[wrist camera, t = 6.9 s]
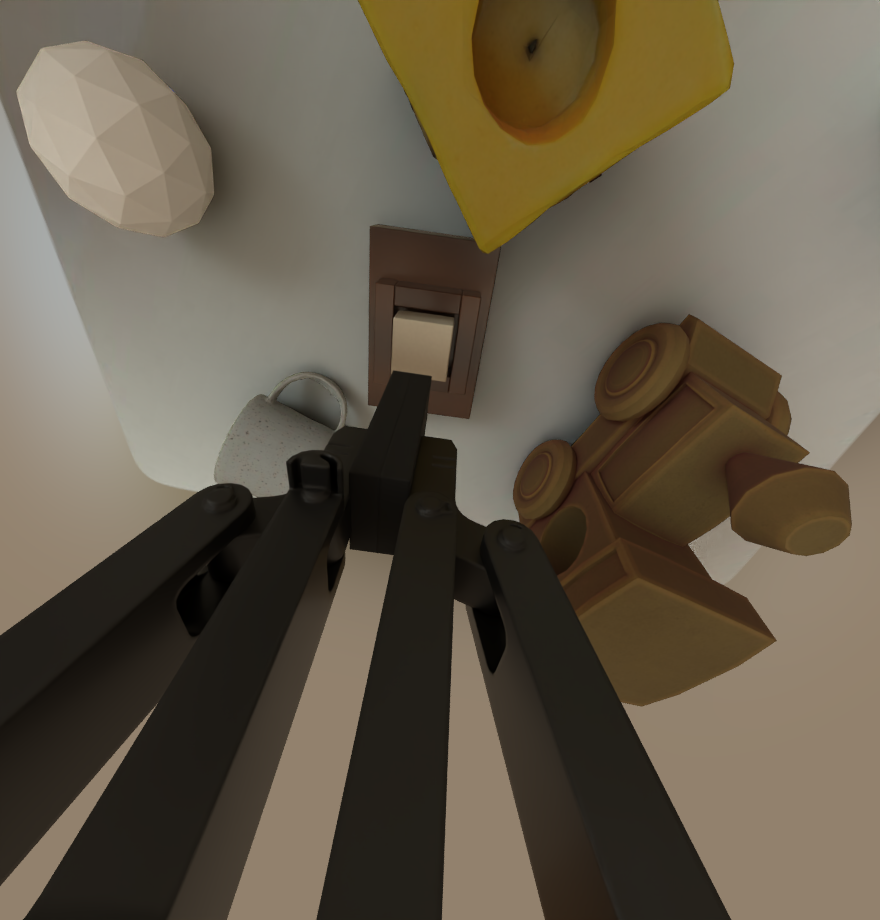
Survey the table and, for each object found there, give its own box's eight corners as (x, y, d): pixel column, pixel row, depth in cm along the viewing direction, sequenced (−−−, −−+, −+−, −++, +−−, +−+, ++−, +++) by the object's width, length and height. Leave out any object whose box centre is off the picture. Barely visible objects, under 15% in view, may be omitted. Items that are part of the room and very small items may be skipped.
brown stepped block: (376, 224, 24) (362, 227, 21) (499, 241, 24) (504, 247, 21) (373, 393, 31) (362, 416, 28) (469, 406, 31) (469, 430, 28)
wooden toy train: (587, 533, 38) (652, 717, 25) (492, 489, 36) (505, 665, 22) (768, 370, 28) (1056, 532, 14) (651, 291, 25) (863, 394, 12)
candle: (573, -130, 16) (678, -469, 8) (640, 129, 21) (751, 81, 13) (387, 53, 20) (328, -52, 12) (479, 241, 24) (483, 260, 16)
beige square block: (398, 309, 24) (393, 317, 22) (454, 317, 24) (453, 325, 22) (395, 363, 26) (390, 375, 24) (447, 370, 26) (446, 382, 24)
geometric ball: (232, 180, 26) (241, 259, 23) (98, 185, 24) (87, 271, 21) (175, 15, 19) (175, 96, 16) (-19, 5, 17) (-61, 93, 14)
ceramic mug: (333, 482, 37) (305, 539, 30) (249, 446, 35) (201, 499, 28) (374, 394, 31) (350, 441, 25) (278, 346, 29) (226, 383, 23)
